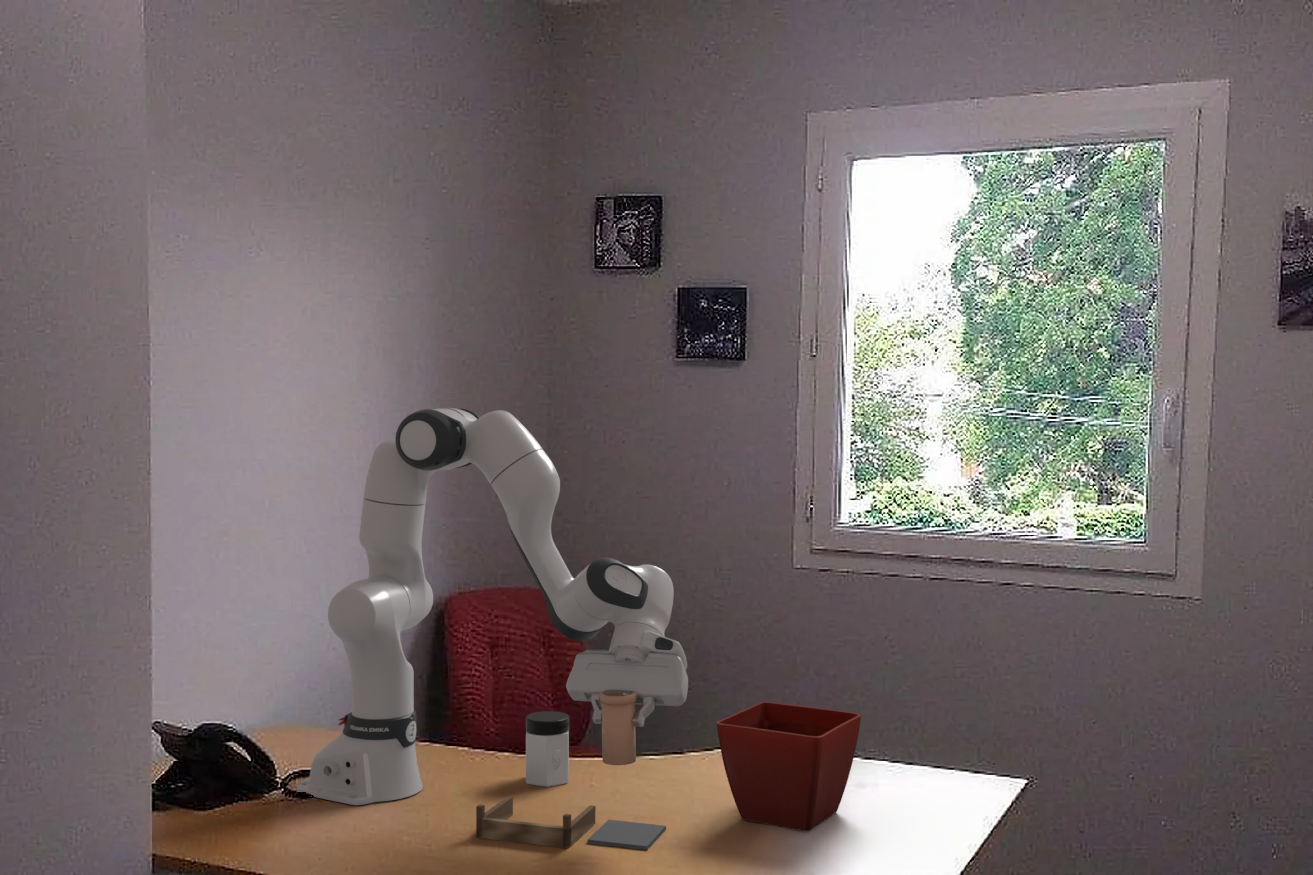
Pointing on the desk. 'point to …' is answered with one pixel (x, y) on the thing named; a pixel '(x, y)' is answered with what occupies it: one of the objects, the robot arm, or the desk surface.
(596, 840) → the mat
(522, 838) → the low fence
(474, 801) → the desk surface
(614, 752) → the pot
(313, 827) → the desk surface
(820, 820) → the plant pot
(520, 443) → the robot arm
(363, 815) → the desk surface
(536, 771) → the jar
